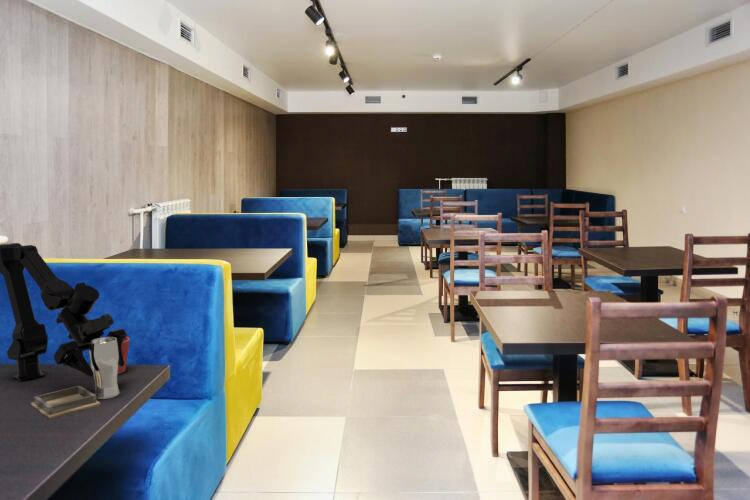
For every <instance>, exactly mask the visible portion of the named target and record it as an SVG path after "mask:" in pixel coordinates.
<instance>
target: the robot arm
mask: <svg viewBox="0 0 750 500" xmlns="http://www.w3.org/2000/svg"><path fill="white" fill-rule="evenodd" d="M24 270H26V272H28V274H29V276H31V278H32V280H33V281H34V282H35V283H36V284H37V286H38V287H39V288H40V289H39V290H40V291H41V292H40V298H41V301H42V303H43V305H44V306H45V307H46V309H48V310H49V311H57V310H60V312H58V313H57V317H56V319H55V320H56V324H63V326H64V328H65V329H66V330H67V332H68V335H67V338H68V339H69V340H71V341H68V342H64V343H60V345H59V346H58V348H57V349H56V351H55V353H54V355H53V360H54V362H55V363H56V364H57V365H58V366H59V365H63V366H64V367H65V366H67V367H70V368H72V369H75V370H77V371H79V372H81V373H82V374H85V375H87V376H89V377H91V378H92V377H94V376H93V375H94V373H93V371H92V368H91V365H90V364H89V363H88V361H87V360H86V358H85V357H84V353H83V352H84V351H88V350H89V346H90V343H89V341H90V340H92V339H95V338H100V337H103V335H104V334H105V332H104V331H106V330H108V329H110V328H111V326H112V325H113V324H114V319H113V317H112V316H111V314H110V313H105V314H103V315H101V316H99V317H98V318H93V319H89V318H88V317H87V314H89V313H90V312H91V310H92V309H93V308H94V306H95V304H96V303H97V301H98V299H99V298H100V293H99V291H98V289H96V288H95V287H94V286H92V285H88V284H85V282H84V281H83V282H77V283H76V284H75V286H74V288H73V287H72V286H71V284H69V283H68V281H64V280H62V279H60V278H58V276H56V274H55V273H54V271H53V270H52V269H51V268H50V266H49V265H48V263H46V261H45V260H44V259H43V257H42V256H41V255H40V254H39V250H38V248H37V246H35V245H33V244H28V245H22V244H21V243H19V242H16V243H15V242H13V243H3V244H0V274H1V275H2V276H3V278H4V283H5V286H6V290H7V294H8V299H9V301H10V307H11V311H12V314H13V318H14V323H15V326H14V329H13V331H12V333H11V338H12V342H11V344H10V346H9V347H8V349H7V351H6V354H7V357H8V359H9V360H12V361H16V369H17V370H16V371H17V374H14V375H13V377H14V378H15V379H16V380H18V381H19V382H23V381H29V380H32V379H37V378H41V377H45V376H46V374H45V373H44V372H42V371H41V366H40V365H41V364H40V355H43V354H44V355H45V354H47V351H48V343H49V336H48V333H47V330H46V326H45V324H44V323H39V322H38V321H37V320H36V318H35V313H34V310H33V306H32V302H31V298H30V297H31V296H30V294H29V290H28V286H27V283H26V279H25V274H24ZM105 337H115V338H117V345H118V352H119V363H118V364H119V365H120V366H121V367H123V366H124V359H123V354H122V347H121V345H122V342H123V341H124V340H125V338H126V337H128V333H127V332H126V330H125V329H124V328H117V329H113V330H110V331H109V332H108V333H107V334H106V336H105Z"/></svg>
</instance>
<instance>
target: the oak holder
mask: <svg viewBox="0 0 750 500" xmlns="http://www.w3.org/2000/svg"><path fill="white" fill-rule="evenodd" d="M101 404H102V403H101V402H100V401H98V400H97V399H96V395H95V393H93V392H91V391H89V390H88V389H86V388H84V387H83V386H82V385H76V386H71V387H67V388H64V389H60V390H56V391H52V392H48V393H43V394H40V395H35V396H33V401H32V402H30V406H32V407H33V408H34V409H36V410H37V411H38V412H40V413H41V414H42V415H44V416H45V417H46V418H47V419H49V420H50V419H55V418H60V417H62V416H65V415H69V414H73V413H77V412H80V411H84V410H87V409H91V408H95V407H98V406H101Z"/></svg>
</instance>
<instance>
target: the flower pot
mask: <svg viewBox="0 0 750 500" xmlns="http://www.w3.org/2000/svg"><path fill="white" fill-rule="evenodd" d="M121 347H122V354H123V359H124V366H123V367H121V366H120V365H119V364H118V372H117V375H120V374H123V373H124V372H125V371H126V369H127V364H128V363H127V362H128V355H129V348H130V337H128V336H127V337H126V338H125V340H124V341H123V342H122V345H121Z"/></svg>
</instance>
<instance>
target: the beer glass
mask: <svg viewBox="0 0 750 500" xmlns="http://www.w3.org/2000/svg"><path fill="white" fill-rule="evenodd" d="M89 343H90V346H89V351H88V352H89V363H90V364H89V365H90V368H91V369H92V371H93V373H94V375H93V376H92V377H93V378H94V394H95V395H96V400H97V399H98V400H107V399H113V398H116V397H117V396H119V395H120V388H119V386H118V374H117V372H118V363H119V352H118V345H117V338H115V337H106V336H100V338H95V339H92V340H90V341H89Z"/></svg>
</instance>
